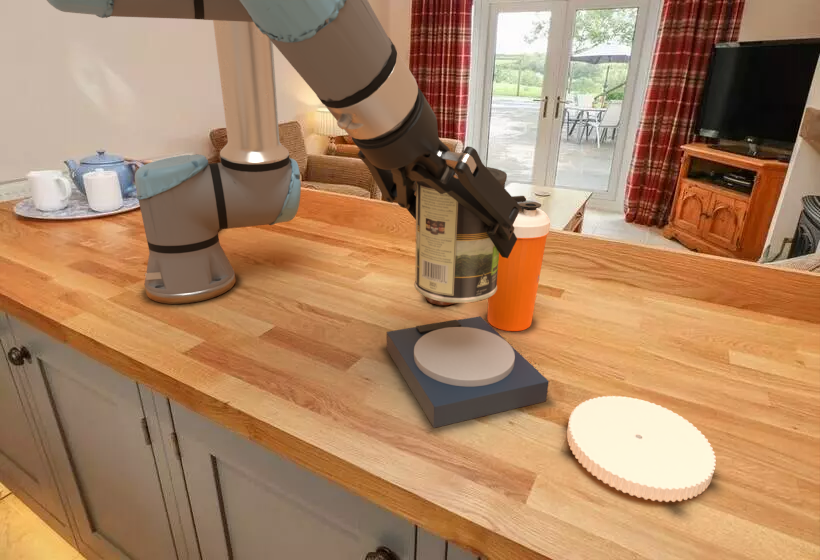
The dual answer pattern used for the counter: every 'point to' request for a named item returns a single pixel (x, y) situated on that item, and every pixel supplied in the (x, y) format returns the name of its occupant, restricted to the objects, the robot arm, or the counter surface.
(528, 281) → the shaker bottle
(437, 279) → the coffee can
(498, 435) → the counter surface
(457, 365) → the kitchen scale
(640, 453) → the plastic lid
